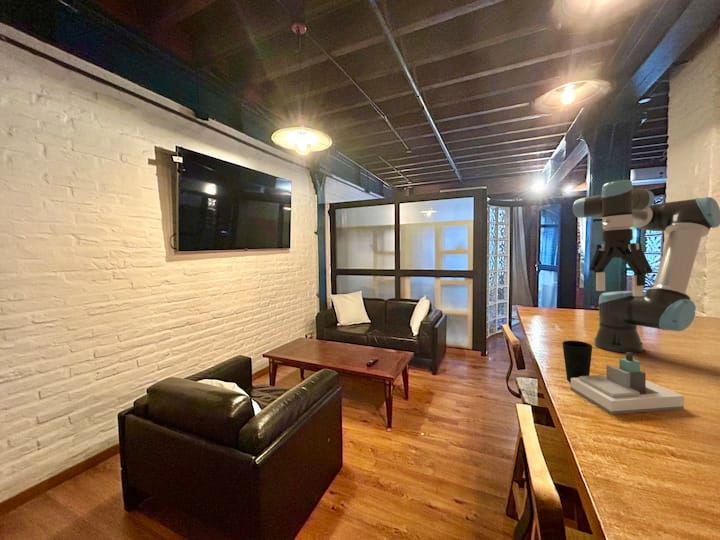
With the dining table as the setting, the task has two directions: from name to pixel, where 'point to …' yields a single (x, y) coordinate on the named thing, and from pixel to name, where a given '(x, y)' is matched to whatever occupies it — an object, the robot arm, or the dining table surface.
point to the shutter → (612, 382)
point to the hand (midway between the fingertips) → (618, 293)
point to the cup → (577, 358)
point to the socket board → (631, 398)
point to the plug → (634, 373)
